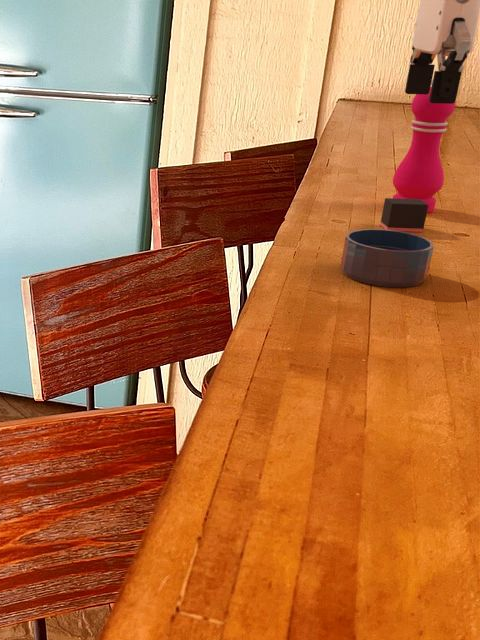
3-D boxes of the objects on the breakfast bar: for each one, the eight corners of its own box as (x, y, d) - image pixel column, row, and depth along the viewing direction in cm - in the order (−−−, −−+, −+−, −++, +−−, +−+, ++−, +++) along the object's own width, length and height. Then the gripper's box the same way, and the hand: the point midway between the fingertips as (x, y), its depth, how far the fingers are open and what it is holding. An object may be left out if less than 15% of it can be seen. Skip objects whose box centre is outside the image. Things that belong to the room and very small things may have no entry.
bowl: (410, 265, 112) (417, 230, 110) (438, 290, 103) (446, 253, 101) (331, 262, 113) (336, 227, 111) (351, 286, 104) (358, 249, 102)
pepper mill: (437, 206, 141) (465, 75, 133) (437, 216, 135) (466, 79, 127) (388, 201, 144) (413, 72, 136) (386, 210, 138) (411, 77, 130)
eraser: (415, 226, 130) (420, 199, 128) (422, 232, 127) (428, 204, 125) (379, 224, 130) (385, 198, 129) (386, 231, 127) (392, 203, 125)
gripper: (515, -40, 106) (482, 107, 113) (460, -38, 122) (434, 91, 128) (450, -41, 106) (421, 106, 113) (404, -39, 122) (381, 90, 129)
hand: (428, 98), depth 121 cm, fingers open, 9 cm apart
